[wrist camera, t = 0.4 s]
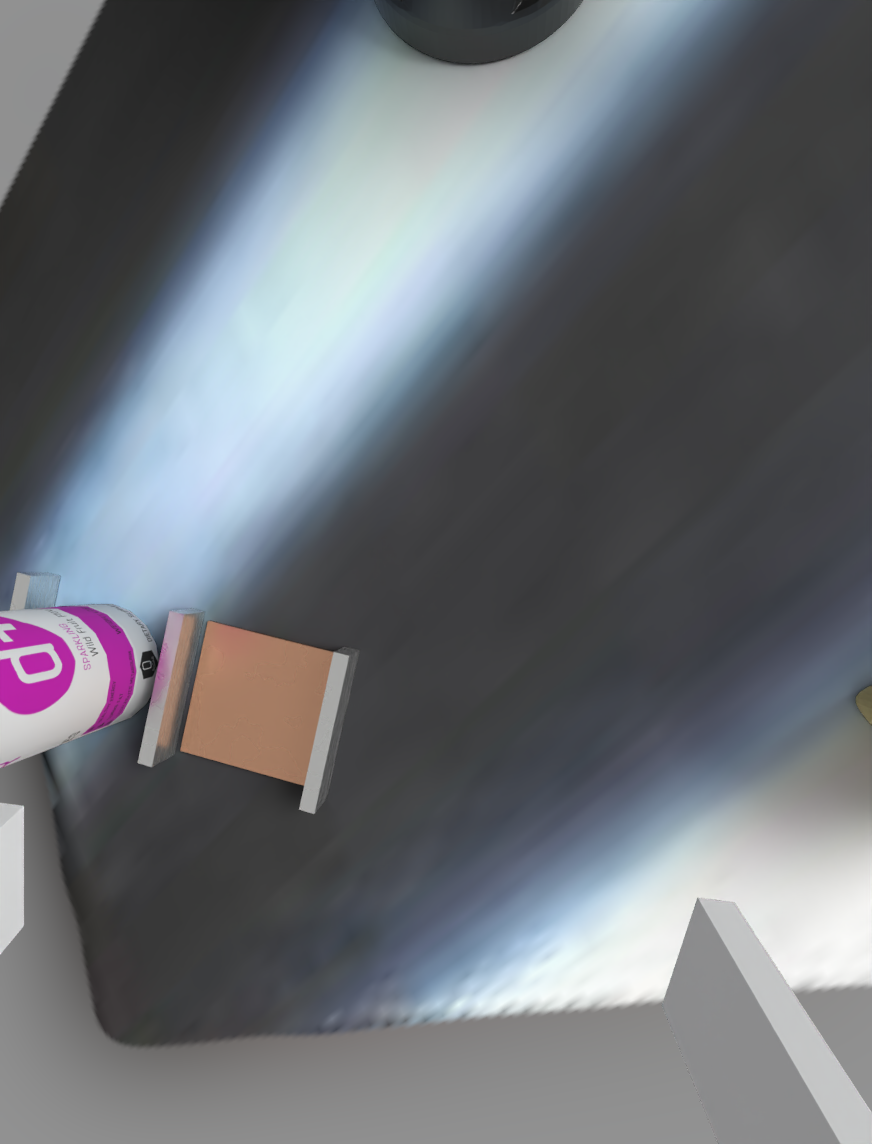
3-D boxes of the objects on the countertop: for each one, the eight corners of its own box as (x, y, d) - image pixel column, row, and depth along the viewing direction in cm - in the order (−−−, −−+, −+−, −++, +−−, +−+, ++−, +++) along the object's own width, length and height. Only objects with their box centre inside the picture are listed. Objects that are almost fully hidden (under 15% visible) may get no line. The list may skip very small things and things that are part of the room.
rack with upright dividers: (47, 572, 40) (17, 572, 37) (359, 650, 37) (349, 655, 35) (19, 710, 40) (-13, 719, 38) (327, 797, 37) (314, 813, 35)
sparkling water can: (130, 581, 39) (-102, 587, 24) (186, 686, 39) (-16, 759, 24) (37, 638, 40) (-242, 678, 25) (90, 742, 39) (-161, 845, 25)
